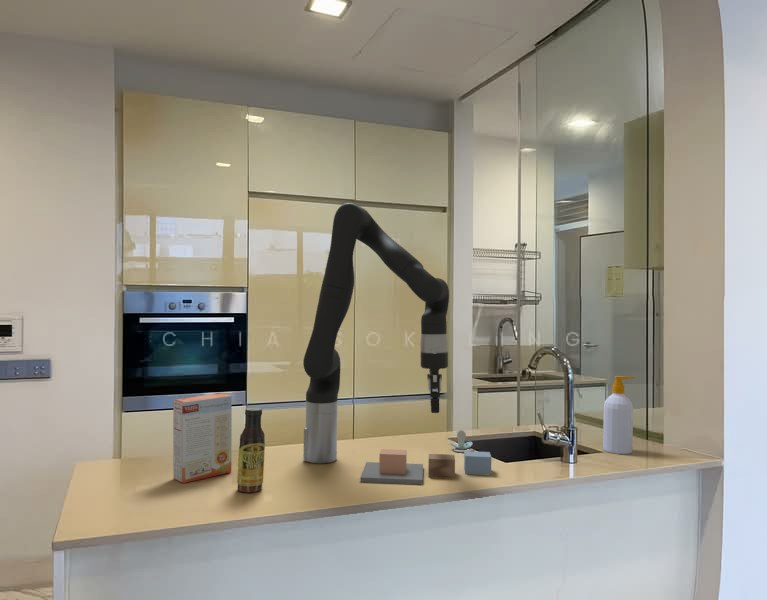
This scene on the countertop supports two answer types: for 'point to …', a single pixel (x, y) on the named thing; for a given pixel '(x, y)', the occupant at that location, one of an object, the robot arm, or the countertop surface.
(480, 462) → the slate block
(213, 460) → the cracker box
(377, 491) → the countertop surface
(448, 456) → the walnut block
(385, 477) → the baseplate
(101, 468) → the countertop surface
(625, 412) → the soap bottle
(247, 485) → the sauce bottle
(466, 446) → the pacifier
